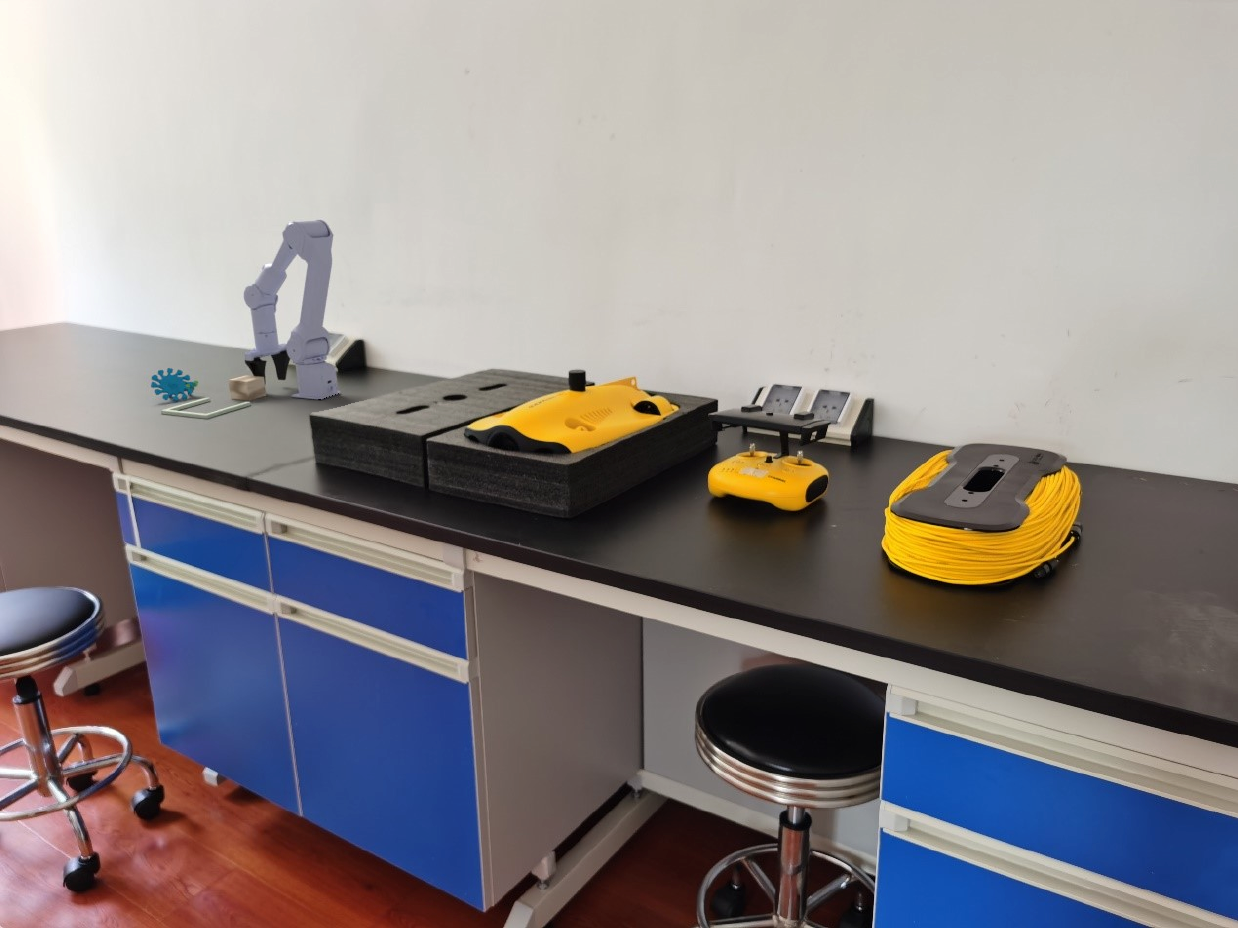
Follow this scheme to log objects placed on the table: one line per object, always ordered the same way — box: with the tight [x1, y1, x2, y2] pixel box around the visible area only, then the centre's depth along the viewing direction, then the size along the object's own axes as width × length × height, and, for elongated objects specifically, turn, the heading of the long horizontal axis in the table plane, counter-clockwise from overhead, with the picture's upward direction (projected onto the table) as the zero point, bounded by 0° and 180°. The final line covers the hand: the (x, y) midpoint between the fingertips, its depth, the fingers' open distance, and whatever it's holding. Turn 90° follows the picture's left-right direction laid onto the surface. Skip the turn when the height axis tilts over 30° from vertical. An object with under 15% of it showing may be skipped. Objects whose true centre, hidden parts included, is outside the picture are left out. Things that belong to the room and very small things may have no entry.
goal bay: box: [160, 397, 251, 420], centre depth 221 cm, size 14×14×1 cm
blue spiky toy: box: [150, 367, 199, 403], centre depth 233 cm, size 11×6×10 cm
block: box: [228, 375, 267, 401], centre depth 233 cm, size 6×6×5 cm
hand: (271, 382), depth 241 cm, fingers open, 7 cm apart
